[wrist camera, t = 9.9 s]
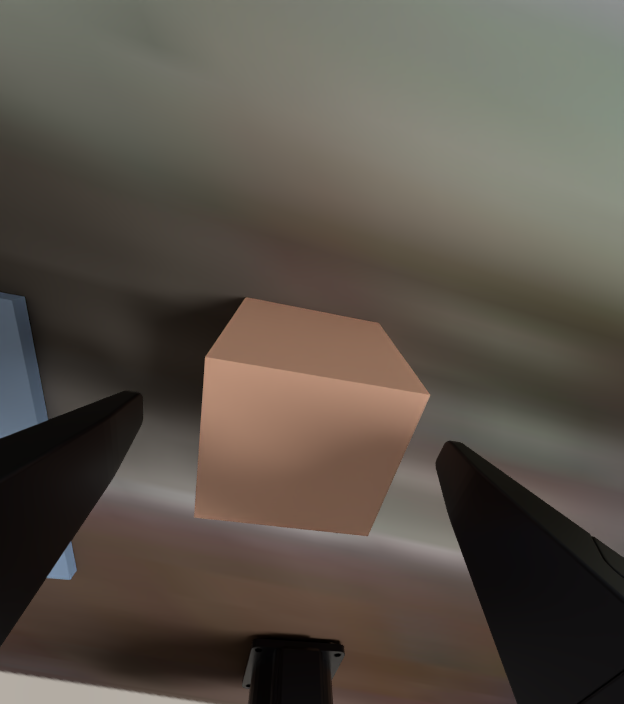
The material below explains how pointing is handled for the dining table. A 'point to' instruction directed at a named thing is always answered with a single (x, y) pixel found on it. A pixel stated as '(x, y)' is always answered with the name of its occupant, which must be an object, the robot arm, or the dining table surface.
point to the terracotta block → (303, 420)
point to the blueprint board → (23, 390)
